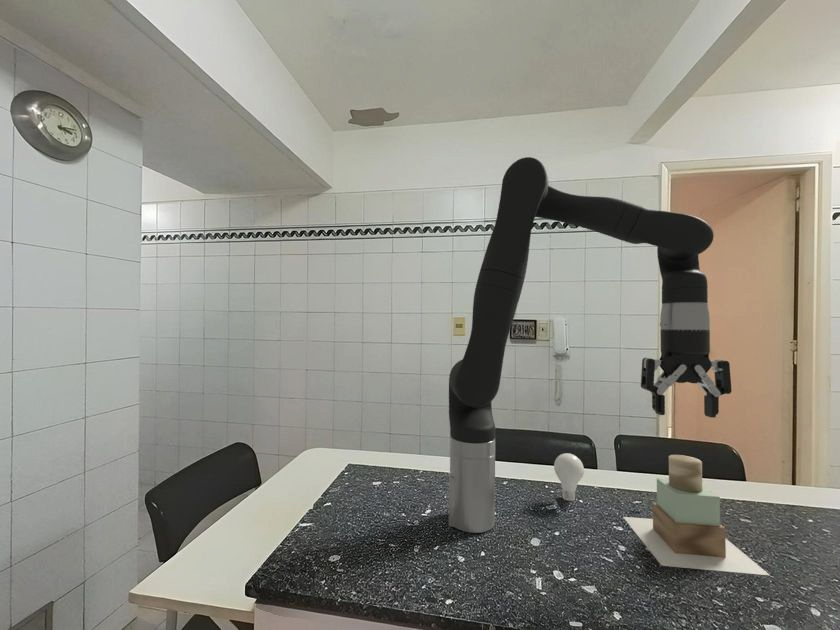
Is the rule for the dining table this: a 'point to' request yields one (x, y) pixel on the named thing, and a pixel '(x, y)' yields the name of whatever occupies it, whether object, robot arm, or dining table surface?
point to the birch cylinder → (685, 473)
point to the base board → (667, 557)
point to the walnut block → (689, 535)
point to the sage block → (688, 504)
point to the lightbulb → (568, 474)
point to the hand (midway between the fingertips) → (684, 415)
